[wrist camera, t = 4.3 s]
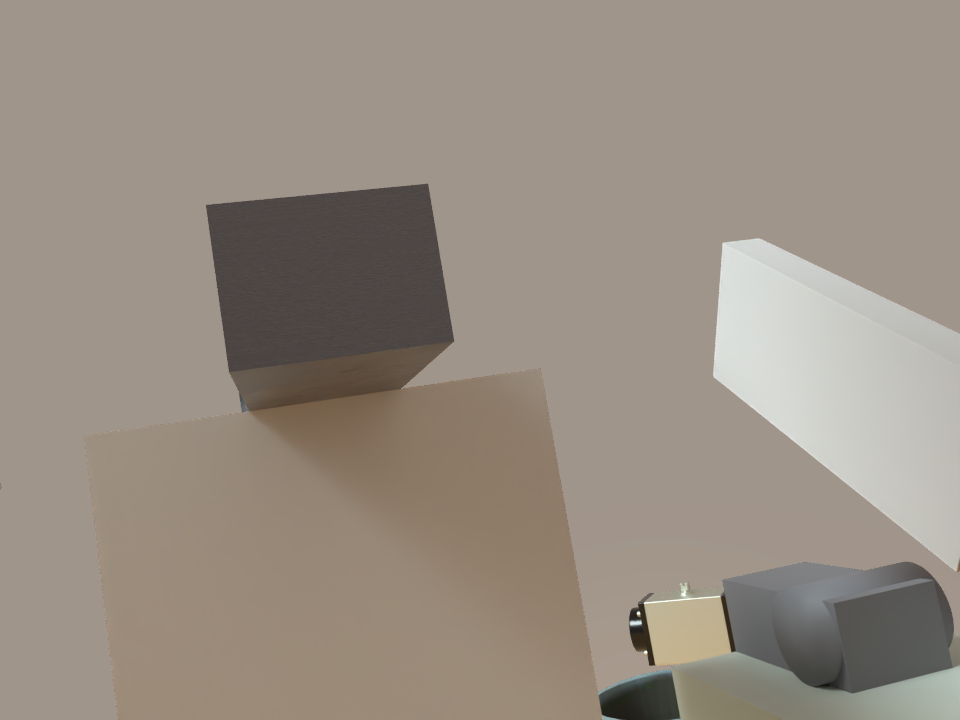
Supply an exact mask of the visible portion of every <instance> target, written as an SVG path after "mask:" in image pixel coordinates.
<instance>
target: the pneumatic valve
mask: <svg viewBox="0 0 960 720" xmlns="http://www.w3.org/2000/svg"><path fill="white" fill-rule="evenodd" d="M680 589H681V591H670V592H660V593H649V594H648V595H647V596H646V597H644V599H642V600H641V601H640V602H639V603H638V606H639V607H636V608H633V609H631V612H630V616H629V628H630V635H631V640H632V643H633V646H634V648H635V649H636V651H638V652H644V654H645V656H648V660H649V665H650V666H653V665H670V664H685V663H690V662H694V661H698V660H702V659H706V658H711V657H715V656H719V655H723V654H728V653H732V652H736V649H735V644H734V639H733V634H732V628H731V623H730V618H729V613H728V608H727V603H726V597H725V592H724V587H714V588H704V589H692V590H690V586H689V583H688V582H686V583H685V585H684V583H680Z"/></svg>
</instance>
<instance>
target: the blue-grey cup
mask: <svg viewBox="0 0 960 720" xmlns="http://www.w3.org/2000/svg"><path fill="white" fill-rule="evenodd" d="M598 696H599V701H600V707H601V713H602V718H603V720H681V718H680V713H679V708H678V702H677V697H676V691H675V686H674V681H673V675H672V670H671V669H669V670H662V671H656V672H651V673H646V674H642V675H638V676H635V677H631V678H628V679H625V680H622V681H620V682H618V683H616V684H614V685H612V686H610V687H607V688H605V689H604V690H602V691H601V692H599V693H598Z"/></svg>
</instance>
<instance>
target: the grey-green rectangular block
mask: <svg viewBox="0 0 960 720" xmlns="http://www.w3.org/2000/svg"><path fill="white" fill-rule="evenodd" d="M722 582H723V587H724V592H725V597H726V603H727V608H728V613H729V618H730V623H731V628H732V634H733V639H734V644H735V649H736V652H732V653H728V654H723V655H719V656H715V657H711V658H706V659H702V660H698V661H694V662H690V663H685V664H681V665H677V666H673V667H671V670H672V675H673V681H674V686H675V691H676V697H677V702H678V708H679V713H680V718H681V720H960V635H956V634H953V633H954V626H953V617H952V612H951V609H950V606H949V603H948V600H947V598H946V596H945V594H944V592H943V590H942V589H941V587H940V585H939V584H938V583H937V581H936V580H935V579H934V578H933V576H932V575H931V574H930V573H929V572H927V571H926V570H925V569H924V568H922V567H921V566H919V565H917V564H915V563H911V562H902V563H897V564H893V565H888V566H883V567H879V568H875V569H870V570H866V571H865V570H858V569H850V568H843V567H836V566H829V565H822V564H815V563H808V562H803V563H798V564H794V565H789V566H784V567H780V568H775V569H770V570H766V571H761V572H757V573H752V574H747V575H743V576H738V577H734V578H729V579H724V580H722Z"/></svg>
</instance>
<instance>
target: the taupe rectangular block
mask: <svg viewBox="0 0 960 720" xmlns="http://www.w3.org/2000/svg"><path fill="white" fill-rule="evenodd" d="M84 441H85V449H86V457H87V466H88V473H89V482H90V491H91V499H92V507H93V516H94V524H95V532H96V540H97V548H98V558H99V566H100V574H101V582H102V591H103V599H104V607H105V616H106V624H107V632H108V641H109V649H110V657H111V666H112V674H113V682H114V691H115V700H116V708H117V716H118V720H603V718H602V713H601V707H600V701H599V696H598V690H597V685H596V679H595V673H594V667H593V662H592V656H591V650H590V645H589V639H588V634H587V628H586V623H585V616H584V611H583V605H582V599H581V594H580V588H579V582H578V577H577V572H576V565H575V560H574V554H573V548H572V543H571V538H570V532H569V526H568V520H567V514H566V509H565V503H564V498H563V492H562V486H561V480H560V476H559V470H558V463H557V458H556V452H555V446H554V441H553V435H552V430H551V424H550V418H549V412H548V407H547V401H546V395H545V390H544V384H543V379H542V373H541V368H538V369H532V370H525V371H518V372H511V373H505V374H498V375H491V376H485V377H478V378H472V379H464V380H457V381H451V382H445V383H437V384H431V385H424V386H417V387H410V388H403V389H397V390H390V391H383V392H377V393H370V394H363V395H356V396H350V397H343V398H336V399H329V400H323V401H316V402H309V403H302V404H295V405H289V406H282V407H275V408H268V409H262V410H255V411H248V412H241V413H235V414H229V415H221V416H215V417H208V418H201V419H194V420H188V421H181V422H174V423H167V424H160V425H154V426H147V427H141V428H133V429H127V430H120V431H113V432H107V433H101V434H93V435H86V436H84Z"/></svg>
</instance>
